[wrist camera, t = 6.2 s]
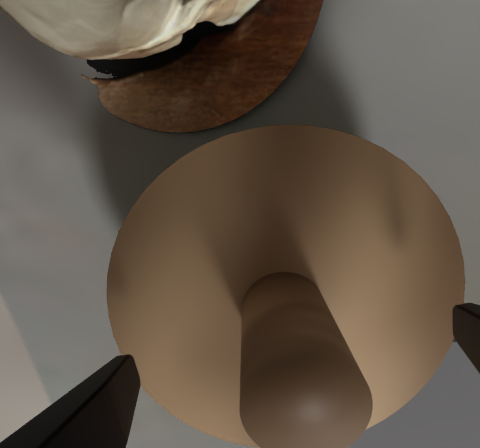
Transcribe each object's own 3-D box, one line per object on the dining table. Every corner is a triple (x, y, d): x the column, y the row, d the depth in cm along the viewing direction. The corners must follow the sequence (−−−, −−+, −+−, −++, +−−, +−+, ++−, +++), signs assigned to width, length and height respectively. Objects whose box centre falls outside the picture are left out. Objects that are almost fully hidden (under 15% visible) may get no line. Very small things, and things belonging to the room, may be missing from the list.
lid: (446, 92, 9) (651, 36, 5) (451, 409, 12) (579, 573, 7) (72, 164, 10) (-80, 178, 5) (161, 446, 13) (113, 616, 8)
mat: (559, 321, 15) (567, 325, 15) (545, 494, 18) (552, 501, 18) (325, 355, 16) (326, 360, 16) (346, 516, 19) (349, 524, 19)
